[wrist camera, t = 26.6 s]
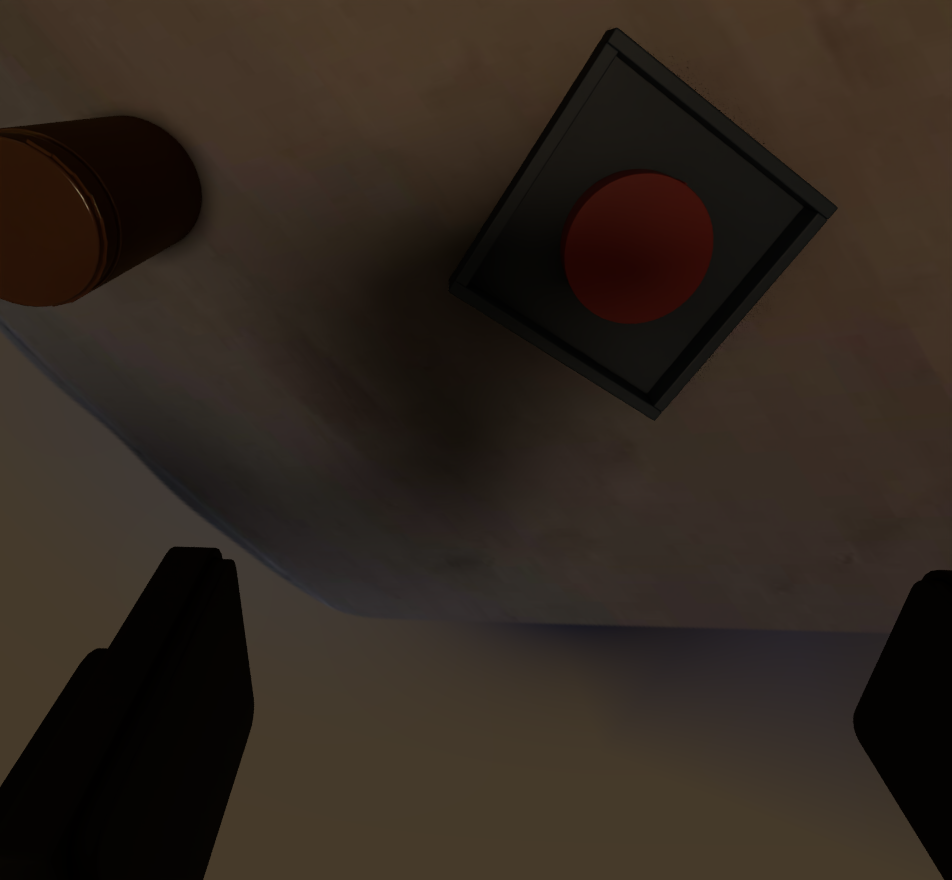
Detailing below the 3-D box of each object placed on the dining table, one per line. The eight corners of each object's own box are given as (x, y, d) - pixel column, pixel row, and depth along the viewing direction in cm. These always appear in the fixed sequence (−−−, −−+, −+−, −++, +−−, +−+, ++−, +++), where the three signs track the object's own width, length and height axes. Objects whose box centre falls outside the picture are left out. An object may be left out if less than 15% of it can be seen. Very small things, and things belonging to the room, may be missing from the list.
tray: (645, 404, 35) (654, 421, 34) (448, 279, 32) (447, 291, 30) (817, 200, 31) (839, 208, 29) (607, 29, 27) (616, 26, 26)
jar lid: (620, 135, 29) (628, 138, 27) (733, 221, 31) (746, 228, 29) (531, 266, 31) (534, 274, 30) (640, 337, 33) (648, 349, 32)
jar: (174, 272, 32) (71, 340, 24) (55, 204, 30) (-99, 252, 22) (221, 165, 30) (126, 199, 21) (95, 86, 28) (-59, 90, 20)
